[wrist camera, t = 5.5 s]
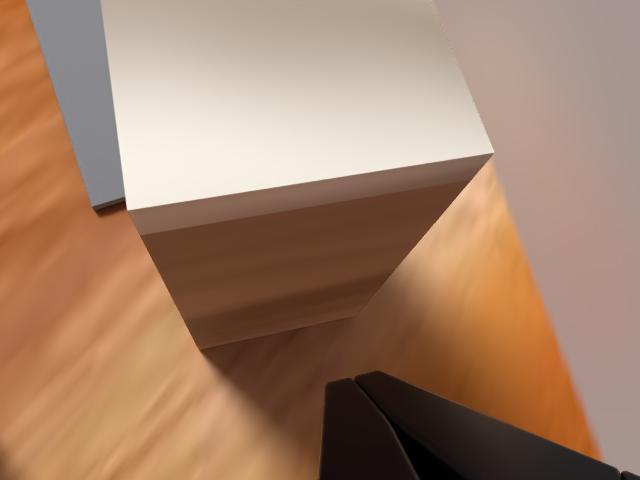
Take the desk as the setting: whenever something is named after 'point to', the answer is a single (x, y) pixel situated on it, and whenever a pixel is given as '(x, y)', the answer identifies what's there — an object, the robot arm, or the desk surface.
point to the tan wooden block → (285, 150)
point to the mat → (83, 90)
